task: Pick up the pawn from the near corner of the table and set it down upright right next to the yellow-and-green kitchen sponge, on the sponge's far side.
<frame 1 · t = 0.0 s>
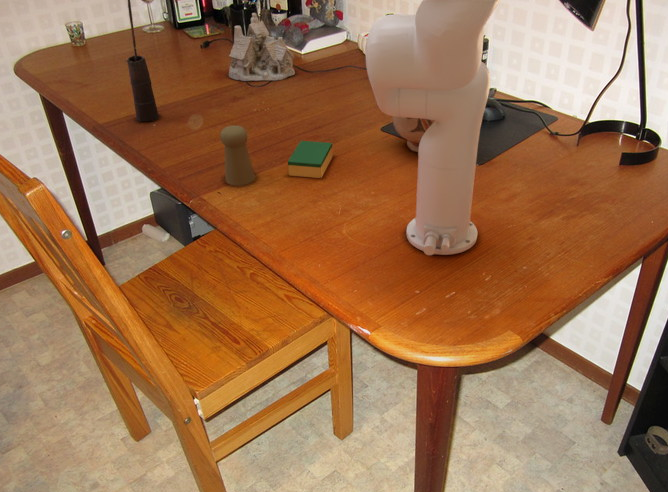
pawn: (240, 179, 133), on the table
ceramic cottage: (261, 74, 180), on the table
butter churn: (145, 120, 156), on the table
ceramic vessel: (431, 146, 144), on the table
sponge: (311, 165, 137), on the table
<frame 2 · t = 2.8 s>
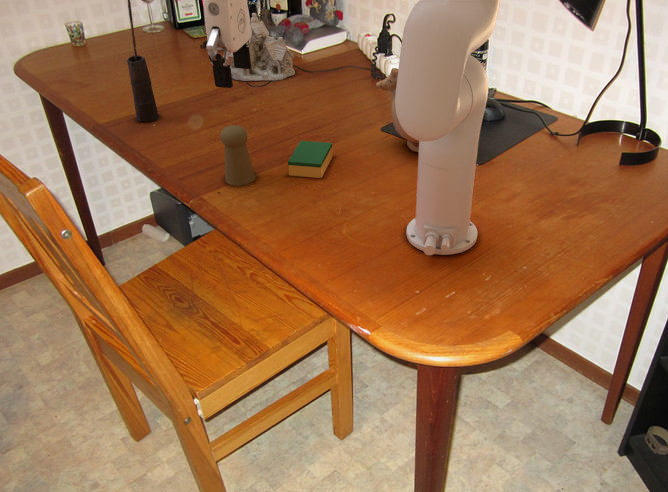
hand: (234, 77, 120), 21 cm above the table, tool pointing down, fingers open, 9 cm apart
nothing on the table moved.
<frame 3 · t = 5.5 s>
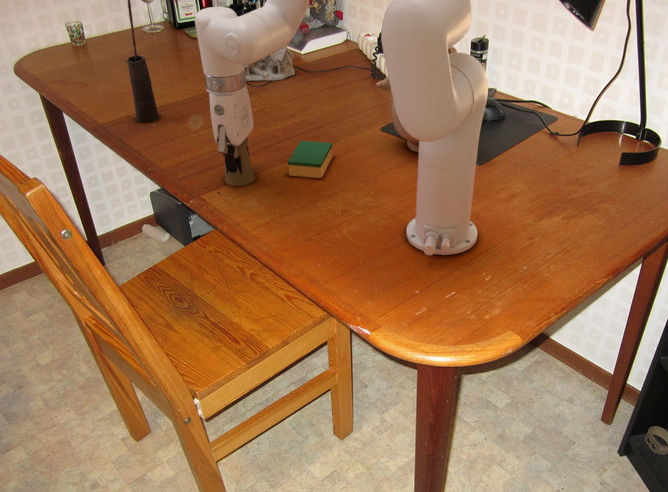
hand: (238, 168, 131), 2 cm above the table, tool pointing down, fingers closed on pawn, 3 cm apart
pawn: (240, 179, 133), on the table, touching gripper
everything else where it was.
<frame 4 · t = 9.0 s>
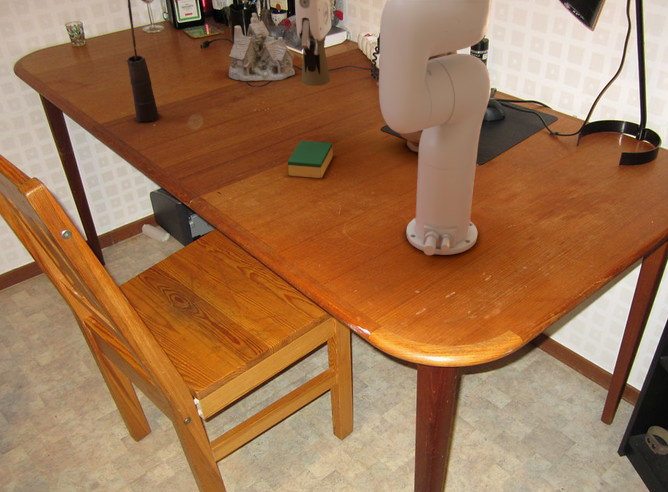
hand: (315, 69, 135), 17 cm above the table, tool pointing down, fingers closed on pawn, 3 cm apart
pawn: (315, 81, 136), point 14 cm above the table, touching gripper
everything else where it was.
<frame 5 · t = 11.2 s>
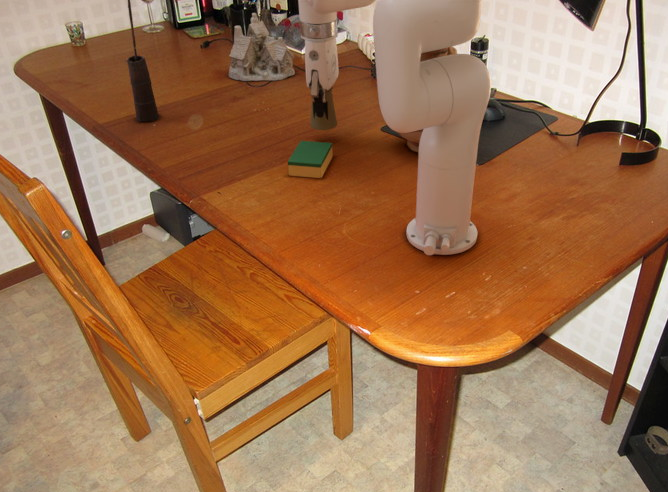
hand: (323, 114, 142), 6 cm above the table, tool pointing down, fingers closed on pawn, 3 cm apart
pawn: (323, 125, 144), point 4 cm above the table, touching gripper
everything else where it was.
when the fingers open (2 cm above the table, at t = 12.5 s): pawn stays where it is, on the table.
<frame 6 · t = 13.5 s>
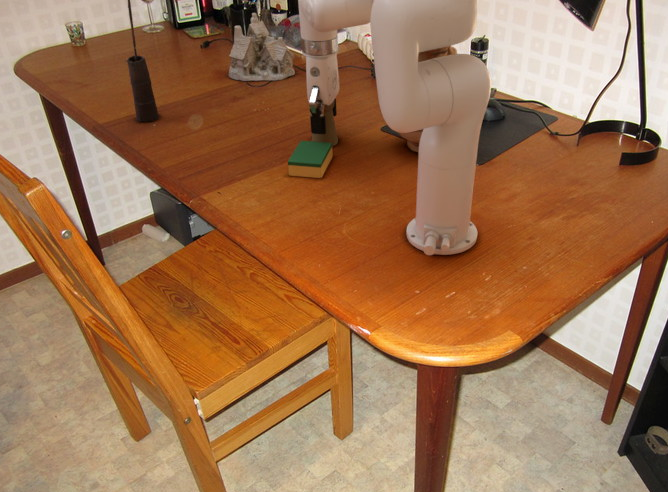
hand: (324, 124, 143), 4 cm above the table, tool pointing down, fingers open, 9 cm apart
pawn: (324, 142, 146), on the table
everything else where it was.
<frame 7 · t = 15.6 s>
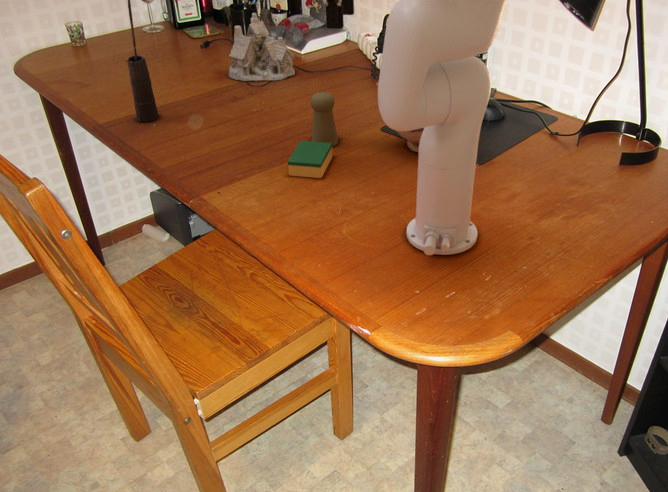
hand: (340, 21, 126), 27 cm above the table, tool pointing down, fingers open, 9 cm apart
nothing on the table moved.
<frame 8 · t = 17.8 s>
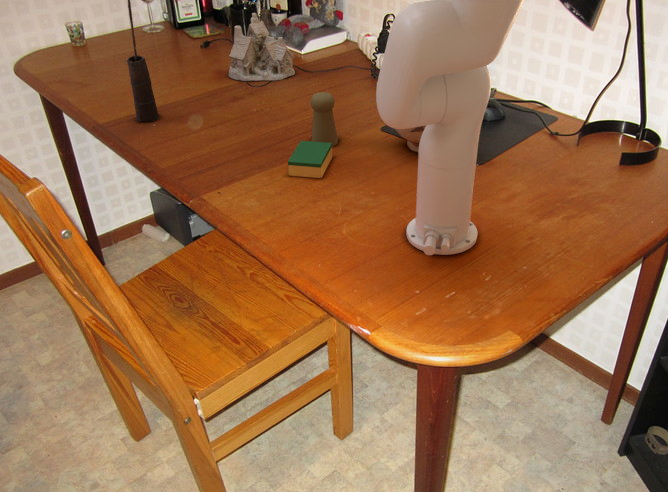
nothing on the table moved.
at the end: pawn inside the target area on the table beside the sponge (0.2 cm from its centre), on the table; pawn tilted 0°; sponge moved 0.0 cm from its start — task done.
